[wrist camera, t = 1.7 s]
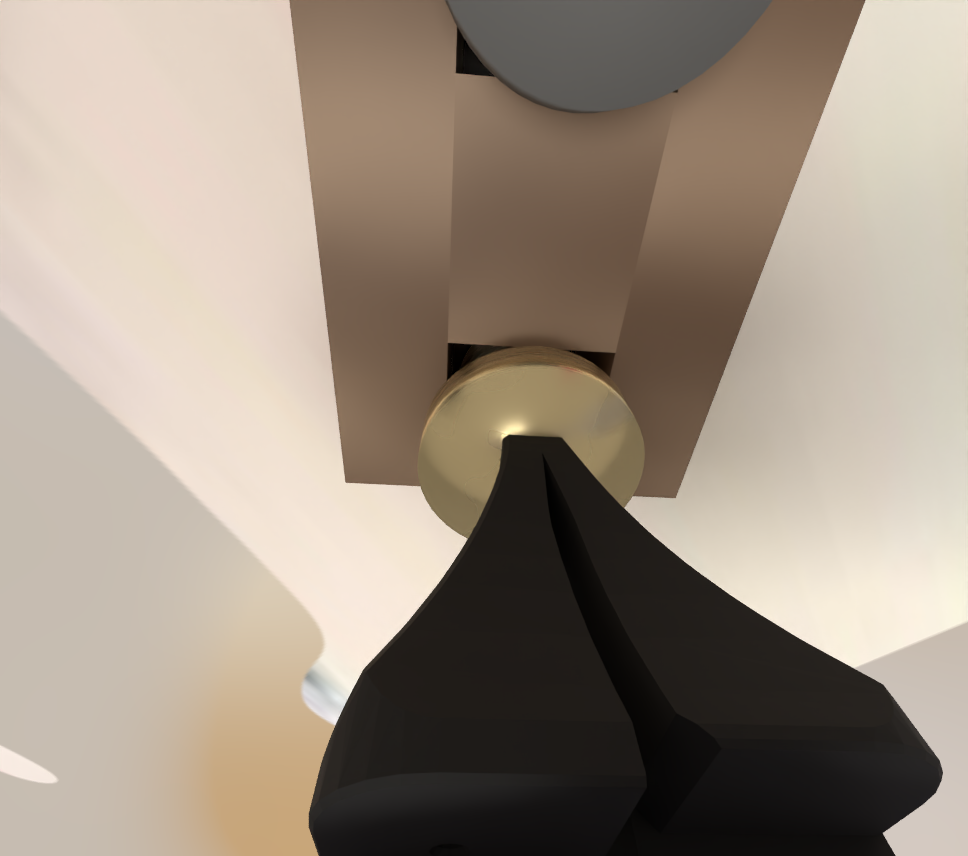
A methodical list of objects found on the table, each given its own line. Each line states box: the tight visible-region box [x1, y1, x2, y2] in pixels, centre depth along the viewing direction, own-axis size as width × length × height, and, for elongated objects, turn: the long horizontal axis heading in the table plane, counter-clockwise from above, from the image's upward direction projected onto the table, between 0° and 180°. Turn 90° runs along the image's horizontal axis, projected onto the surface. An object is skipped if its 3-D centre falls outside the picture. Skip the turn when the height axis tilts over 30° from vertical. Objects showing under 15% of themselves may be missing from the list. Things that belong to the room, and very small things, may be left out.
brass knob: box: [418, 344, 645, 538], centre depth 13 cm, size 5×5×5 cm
